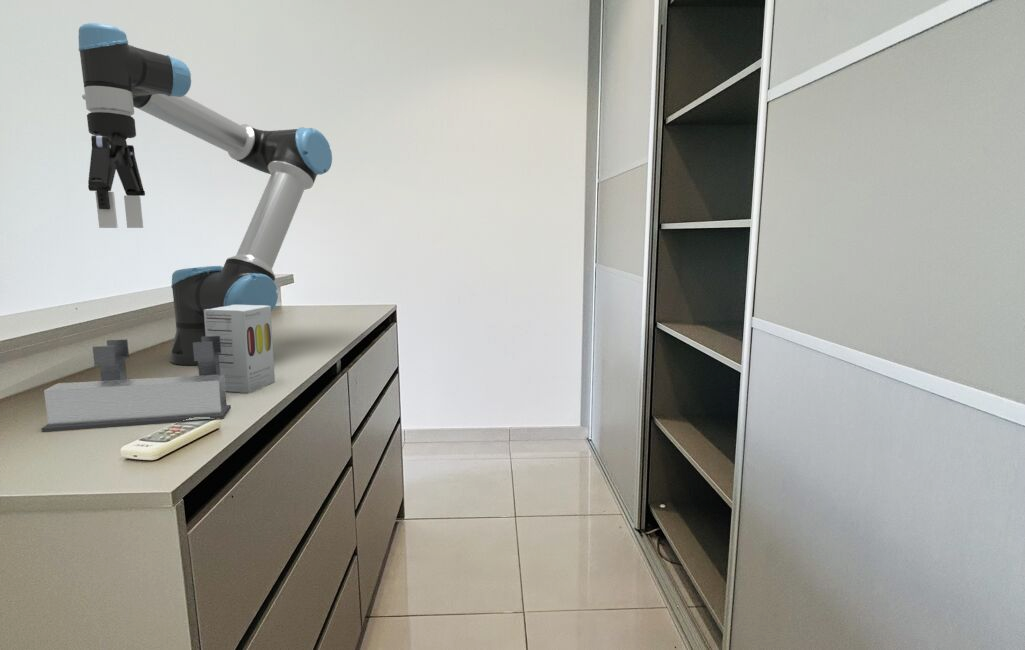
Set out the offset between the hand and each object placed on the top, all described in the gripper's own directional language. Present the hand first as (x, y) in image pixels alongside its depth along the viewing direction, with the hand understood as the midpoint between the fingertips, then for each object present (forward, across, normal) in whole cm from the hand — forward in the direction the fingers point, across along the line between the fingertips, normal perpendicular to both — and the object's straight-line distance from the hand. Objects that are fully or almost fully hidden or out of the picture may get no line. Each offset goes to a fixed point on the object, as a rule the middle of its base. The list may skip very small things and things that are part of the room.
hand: (122, 228), depth 114 cm
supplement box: (+33, +2, +20) cm, 39 cm away
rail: (+32, +21, +7) cm, 39 cm away
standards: (+33, +12, +8) cm, 36 cm away
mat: (+33, +21, +7) cm, 39 cm away
